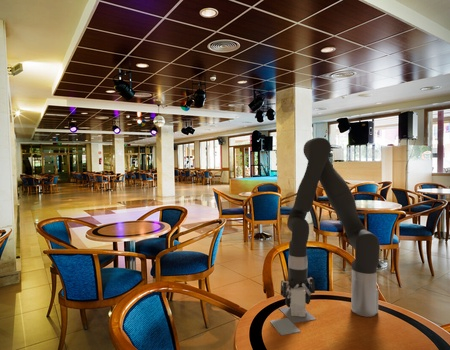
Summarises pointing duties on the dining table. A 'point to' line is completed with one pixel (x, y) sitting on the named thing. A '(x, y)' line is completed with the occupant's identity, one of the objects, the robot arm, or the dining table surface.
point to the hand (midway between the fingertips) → (297, 304)
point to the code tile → (296, 319)
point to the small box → (298, 302)
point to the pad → (284, 326)
